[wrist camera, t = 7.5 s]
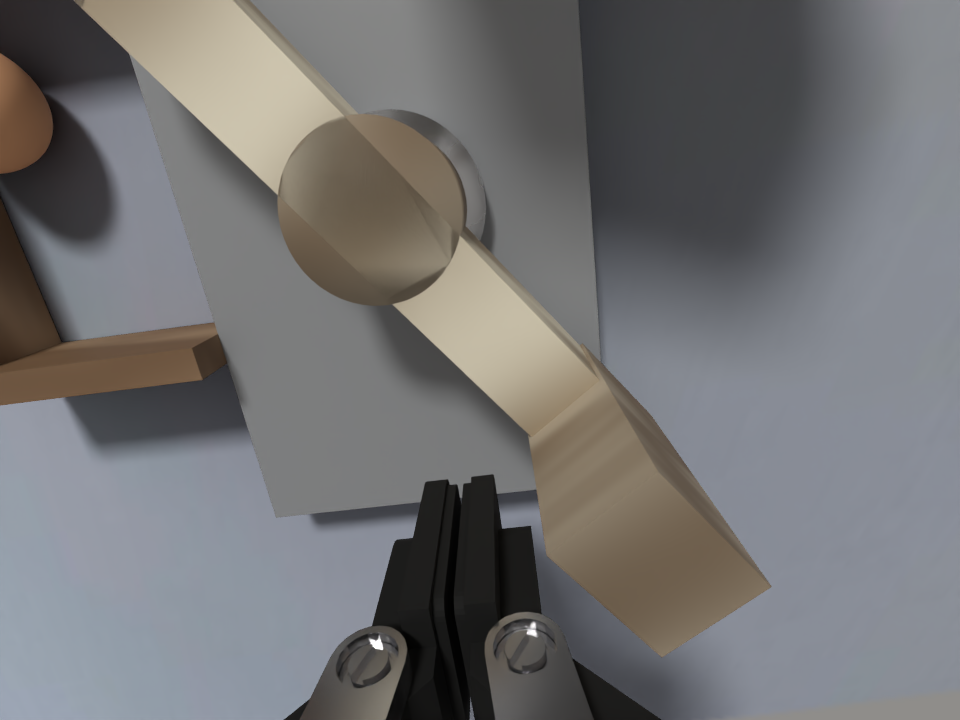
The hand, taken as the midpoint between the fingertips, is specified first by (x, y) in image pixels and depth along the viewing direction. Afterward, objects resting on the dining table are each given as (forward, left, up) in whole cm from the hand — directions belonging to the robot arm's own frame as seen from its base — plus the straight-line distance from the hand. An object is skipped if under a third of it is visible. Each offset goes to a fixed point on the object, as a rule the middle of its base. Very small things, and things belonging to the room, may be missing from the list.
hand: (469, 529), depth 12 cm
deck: (+7, +2, -7) cm, 10 cm away
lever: (+7, +1, -4) cm, 8 cm away
